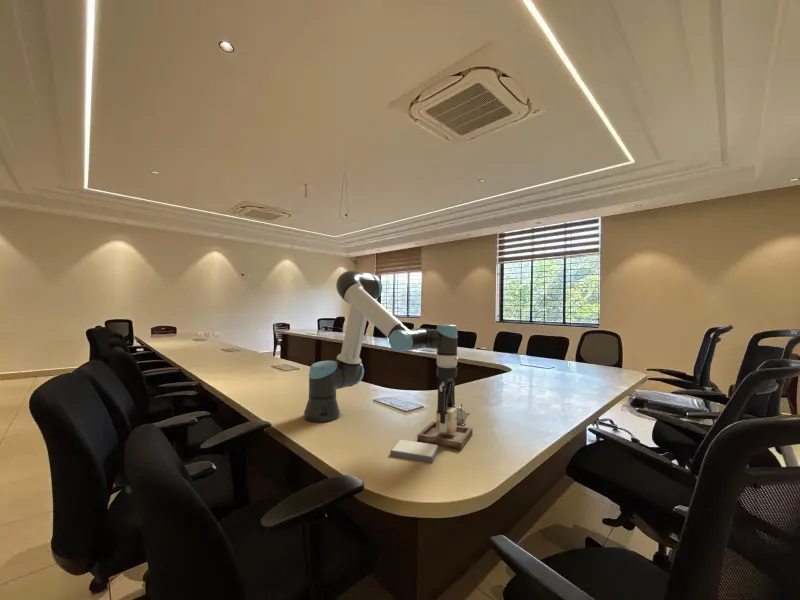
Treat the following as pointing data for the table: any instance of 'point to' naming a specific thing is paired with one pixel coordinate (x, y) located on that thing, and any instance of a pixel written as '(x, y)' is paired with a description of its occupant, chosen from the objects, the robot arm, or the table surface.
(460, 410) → the game die
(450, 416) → the beech block
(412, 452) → the white grey flat slab
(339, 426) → the table surface
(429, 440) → the walnut tray
